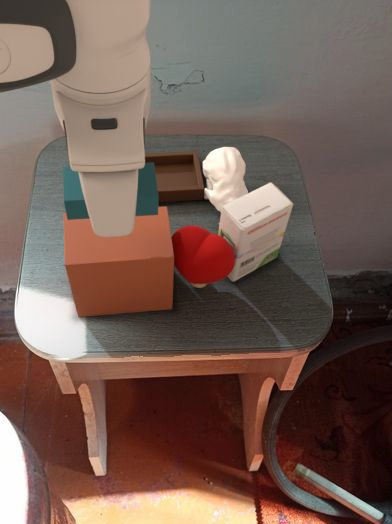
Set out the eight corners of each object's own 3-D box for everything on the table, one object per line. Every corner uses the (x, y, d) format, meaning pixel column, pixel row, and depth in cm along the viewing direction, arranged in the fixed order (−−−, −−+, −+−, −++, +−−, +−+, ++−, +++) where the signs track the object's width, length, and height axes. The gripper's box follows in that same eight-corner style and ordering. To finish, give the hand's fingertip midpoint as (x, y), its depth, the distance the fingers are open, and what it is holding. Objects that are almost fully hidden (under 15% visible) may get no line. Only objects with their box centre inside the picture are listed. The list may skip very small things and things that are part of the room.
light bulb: (238, 279, 81) (247, 235, 72) (216, 315, 78) (223, 273, 69) (182, 253, 83) (184, 206, 74) (158, 287, 80) (157, 243, 71)
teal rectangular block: (67, 220, 62) (63, 201, 59) (66, 185, 64) (62, 166, 61) (158, 215, 63) (158, 196, 60) (154, 181, 65) (154, 162, 63)
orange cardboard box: (78, 317, 77) (64, 265, 66) (76, 269, 81) (63, 212, 70) (172, 309, 78) (174, 257, 68) (166, 262, 82) (167, 206, 71)
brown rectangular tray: (119, 205, 87) (118, 194, 84) (115, 166, 90) (114, 154, 88) (203, 199, 88) (204, 188, 86) (196, 161, 92) (197, 150, 89)
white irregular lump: (244, 137, 82) (265, 204, 78) (235, 176, 90) (255, 238, 86) (202, 142, 81) (221, 210, 77) (197, 181, 89) (215, 245, 85)
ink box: (258, 235, 85) (271, 178, 75) (278, 258, 84) (295, 203, 73) (212, 260, 83) (220, 204, 72) (232, 283, 81) (243, 230, 70)
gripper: (63, 18, 55) (79, 131, 67) (69, 172, 46) (86, 272, 58) (128, 17, 56) (132, 130, 68) (146, 169, 46) (147, 268, 59)
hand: (111, 196), depth 63 cm, fingers closed on teal rectangular block, 5 cm apart
